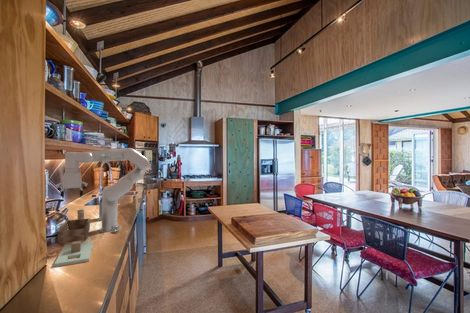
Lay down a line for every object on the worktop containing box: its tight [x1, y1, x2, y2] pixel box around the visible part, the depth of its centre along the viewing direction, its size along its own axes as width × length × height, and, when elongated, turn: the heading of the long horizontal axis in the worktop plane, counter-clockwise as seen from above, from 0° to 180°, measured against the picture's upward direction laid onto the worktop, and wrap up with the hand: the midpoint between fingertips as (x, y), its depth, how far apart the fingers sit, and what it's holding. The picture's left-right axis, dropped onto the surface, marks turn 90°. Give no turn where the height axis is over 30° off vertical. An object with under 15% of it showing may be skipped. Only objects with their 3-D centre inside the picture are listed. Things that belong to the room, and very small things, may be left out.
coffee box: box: [98, 198, 102, 221], centre depth 192 cm, size 9×6×16 cm
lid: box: [53, 240, 94, 268], centre depth 124 cm, size 14×26×6 cm, turn 28°
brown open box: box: [57, 217, 91, 245], centre depth 150 cm, size 14×26×8 cm, turn 28°
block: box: [77, 208, 86, 219], centre depth 167 cm, size 4×4×14 cm
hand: (72, 196), depth 151 cm, fingers open, 9 cm apart
